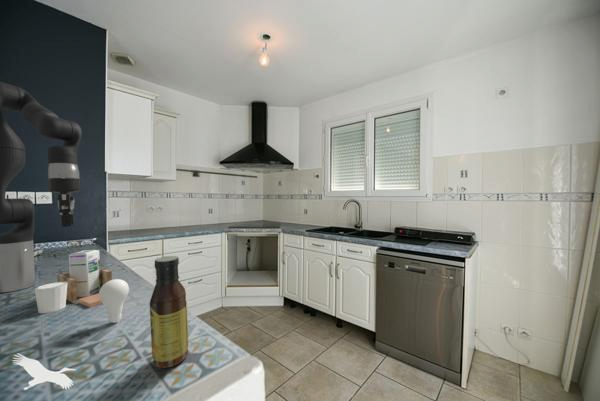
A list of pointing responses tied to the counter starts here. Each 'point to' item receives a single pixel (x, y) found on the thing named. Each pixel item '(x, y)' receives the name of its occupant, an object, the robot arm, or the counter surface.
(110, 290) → the lightbulb
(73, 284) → the wooden box
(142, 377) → the counter surface
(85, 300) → the tile pad
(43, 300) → the white short cylinder
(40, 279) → the counter surface
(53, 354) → the counter surface
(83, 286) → the syrup box
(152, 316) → the sauce bottle
